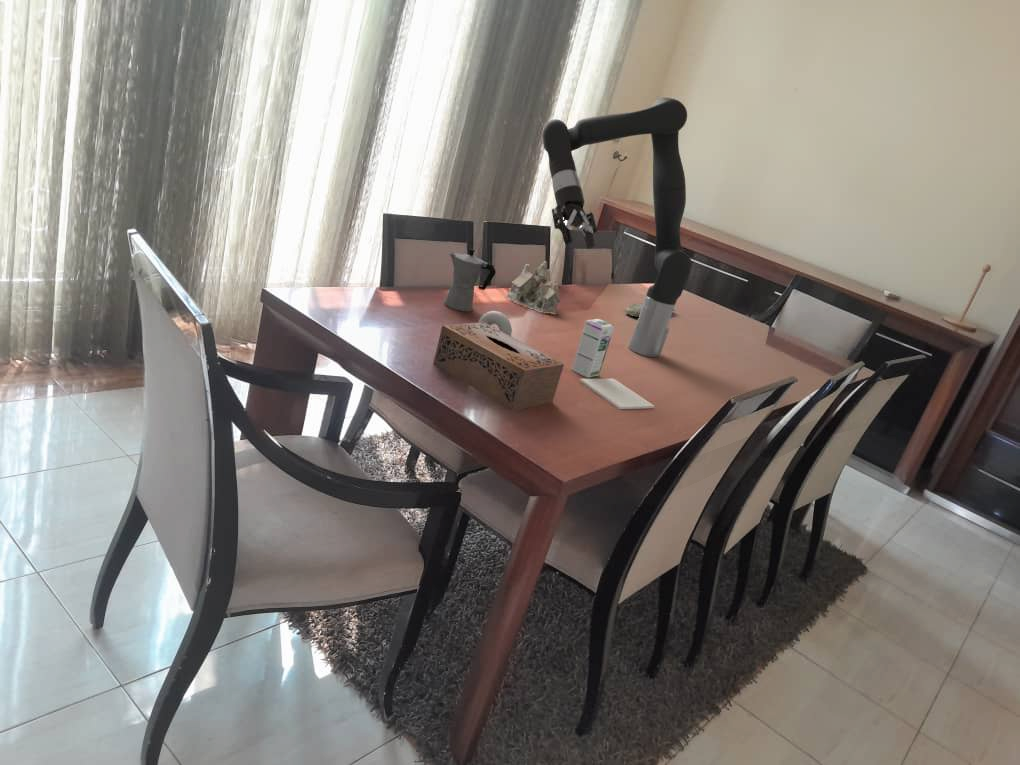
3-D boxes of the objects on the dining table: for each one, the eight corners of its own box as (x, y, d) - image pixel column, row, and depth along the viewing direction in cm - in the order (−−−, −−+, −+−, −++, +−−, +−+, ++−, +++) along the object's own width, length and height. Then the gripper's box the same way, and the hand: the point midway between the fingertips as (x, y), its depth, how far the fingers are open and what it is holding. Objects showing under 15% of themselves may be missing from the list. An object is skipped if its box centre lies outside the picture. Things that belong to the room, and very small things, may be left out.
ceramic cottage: (502, 293, 254) (515, 252, 248) (545, 302, 260) (559, 262, 254) (514, 310, 240) (529, 267, 235) (559, 320, 247) (574, 278, 241)
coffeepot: (432, 301, 222) (445, 243, 216) (445, 297, 231) (458, 241, 225) (478, 318, 219) (493, 260, 212) (489, 313, 227) (504, 256, 221)
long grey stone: (678, 319, 296) (655, 311, 301) (682, 306, 295) (659, 298, 300) (641, 321, 267) (617, 313, 272) (645, 307, 266) (621, 299, 271)
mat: (579, 380, 191) (580, 378, 191) (612, 380, 198) (613, 378, 198) (619, 409, 179) (620, 407, 179) (653, 408, 186) (654, 405, 186)
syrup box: (588, 378, 194) (605, 327, 189) (570, 369, 197) (586, 318, 192) (599, 375, 199) (615, 325, 194) (581, 367, 202) (597, 317, 197)
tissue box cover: (552, 403, 172) (564, 364, 169) (512, 412, 161) (524, 370, 158) (474, 359, 186) (483, 322, 183) (432, 364, 175) (442, 325, 172)
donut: (471, 341, 198) (480, 306, 194) (477, 339, 201) (486, 304, 197) (502, 355, 194) (512, 319, 190) (508, 353, 197) (518, 317, 193)
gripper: (558, 179, 195) (571, 236, 192) (595, 189, 205) (607, 243, 201) (539, 193, 201) (551, 248, 197) (576, 201, 210) (588, 254, 207)
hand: (580, 245), depth 199 cm, fingers open, 8 cm apart
